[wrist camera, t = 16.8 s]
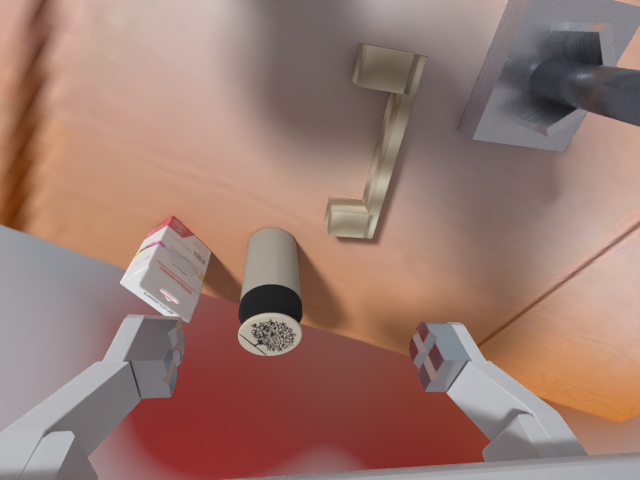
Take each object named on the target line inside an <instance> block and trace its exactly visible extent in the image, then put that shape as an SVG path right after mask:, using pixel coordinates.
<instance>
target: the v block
mask: <svg viewBox="0 0 640 480" xmlns="http://www.w3.org/2000/svg"><path fill="white" fill-rule="evenodd" d="M639 25H640V7H638V6H634V5H630V4H626V3H622V2H618V1H614V0H509V1H508V4H507V6H506V9H505V11H504V14H503V16H502V19H501V21H500V24H499V27H498V29H497V32H496V34H495V37H494V39H493V42H492V44H491V47H490V49H489V52H488V54H487V57H486V60H485V62H484V65H483V67H482V70H481V72H480V75H479V77H478V80H477V82H476V85H475V88H474V90H473V93H472V95H471V98H470V100H469V103H468V105H467V108H466V110H465V113H464V115H463V118H462V121H461V123H460V126H459V128H458V131H459V132H460V133H462V134H464V135H465V136H467V137H469V138H470V139H472V140H479V141H486V142H493V143H500V144H508V145H515V146H522V147H529V148H536V149H544V150H551V151H558V152H564V150H565V148H566V147H567V145H568V143H569V142H570V140H571V138H572V137H573V135H574V133H575V132H576V130H577V128H578V127H579V125H580V123H581V122H582V120H583V118H584V117H585V115H586V114H587V113H588V111H585V110H582V109H578V108H575V107H571V106H568V105H564V104H561V103H558V102H554V101H551V100H547V99H544V98H541V97H537V96H534V95H532V94H531V92H530V91H529V80H530V77H531V75H532V73H533V71H534V70H535V69H536V67H537V66H538V65H540V64H541V63H542V62H544V61H546V60H548V59H559V60H567V61H574V62H581V63H589V64H596V65H603V66H610V67H617V66H616V63H617V62H618V60H619V58H620V57H621V55H622V53H623V52H624V50H625V48H626V47H627V45H628V43H629V42H630V40H631V38H632V37H633V35H634V33H635V32H636V30H637V28H638V27H639Z"/></svg>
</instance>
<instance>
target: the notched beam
mask: <svg viewBox="0 0 640 480" xmlns="http://www.w3.org/2000/svg"><path fill="white" fill-rule="evenodd" d="M426 59H427V56H423V55H419V54H415V53H410V52H404V51H399V50H394V49H388V48H383V47H378V46H372V45H367V44H362V43H359V44H358V49H357V54H356V59H355V64H354V70H353V75H352V80H351V81H352V82H353V83H355V84H356V85H357V86H358V87H362V88H368V89H374V90H380V91H387V92H390V95H389V99H388V102H387V106H386V110H385V114H384V118H383V122H382V126H381V129H380V133H379V137H378V141H377V145H376V149H375V153H374V156H373V160H372V164H371V168H370V172H369V176H368V180H367V183H366V187H365V191H364V195H363V199H362V200H354V199H344V198H333V197H329V199H328V204H327V210H326V215H325V224H326V228H327V232H328V236H341V237H355V238H370V239H372V238H373V234H374V231H375V228H376V224H377V221H378V218H379V214H380V211H381V208H382V204H383V201H384V198H385V195H386V191H387V188H388V185H389V181H390V178H391V175H392V171H393V168H394V165H395V161H396V158H397V155H398V152H399V148H400V145H401V142H402V138H403V135H404V132H405V128H406V125H407V122H408V118H409V115H410V112H411V109H412V105H413V102H414V99H415V95H416V92H417V89H418V85H419V82H420V79H421V75H422V72H423V69H424V65H425V62H426Z"/></svg>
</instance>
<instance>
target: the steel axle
mask: <svg viewBox="0 0 640 480" xmlns="http://www.w3.org/2000/svg"><path fill="white" fill-rule="evenodd" d="M529 91H530V92H531V94H532V95H534V96H537V97H541V98H544V99H547V100H551V101H554V102H558V103H561V104H564V105H568V106H571V107H575V108H578V109H582V110H585V111H588V112H592V113H595V114H599V115H602V116H605V117H609V118H612V119H616V120H619V121H622V122H626V123H629V124H633V125H636V126H640V71H639V70H632V69H625V68H618V67H610V66H603V65H596V64H589V63H581V62H574V61H567V60H559V59H548V60H546V61H544V62H542V63H541V64H540V65H538V66H537V67H536V69H535V70H534V71H533V73H532V75H531V77H530V80H529Z"/></svg>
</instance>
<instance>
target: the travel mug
mask: <svg viewBox="0 0 640 480" xmlns="http://www.w3.org/2000/svg"><path fill="white" fill-rule="evenodd" d="M302 314H303V313H302V301H301V290H300V278H299V267H298V255H297V245H296V241H295V239H294V238H293V237H292V236H291V235H290V234H289V233H288V232H286V231H284V230H281V229H278V228H267V229H263V230H260V231H258V232H256V233H255V234H254V235H253V236H252V237H251V238H250V240H249V242H248V246H247V254H246V262H245V269H244V277H243V284H242V292H241V300H240V307H239V320H240V323H241V324H242V326H241V327H240V329H239V332H238V339H239V342H240V343H241V345H242V346H243V347H244V348H245V349H246V350H248V351H249V352H252V353H254V354H257V355H264V356H274V355H280V354H283V353H286V352H288V351H290V350H292V349H293V348H294V347H296V346H297V345H298V343H299V342H300V340H301V337H302V329H301V326H300V325H299V323H300V321H301V319H302Z"/></svg>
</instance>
